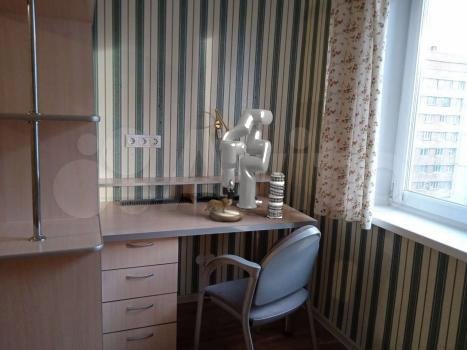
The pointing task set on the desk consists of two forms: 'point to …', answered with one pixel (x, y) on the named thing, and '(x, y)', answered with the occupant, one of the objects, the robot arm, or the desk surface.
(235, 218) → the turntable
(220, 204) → the lion figurine
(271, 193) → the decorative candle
